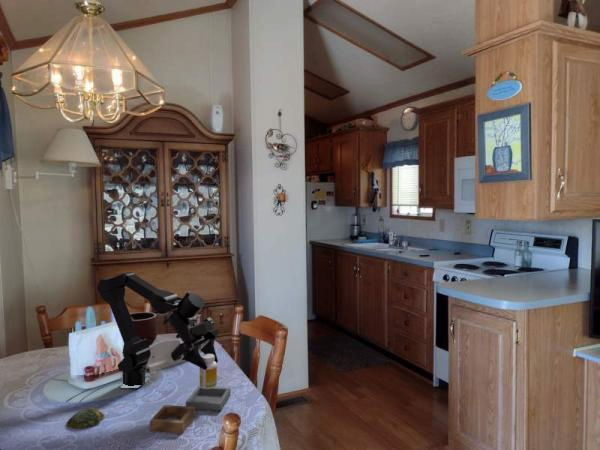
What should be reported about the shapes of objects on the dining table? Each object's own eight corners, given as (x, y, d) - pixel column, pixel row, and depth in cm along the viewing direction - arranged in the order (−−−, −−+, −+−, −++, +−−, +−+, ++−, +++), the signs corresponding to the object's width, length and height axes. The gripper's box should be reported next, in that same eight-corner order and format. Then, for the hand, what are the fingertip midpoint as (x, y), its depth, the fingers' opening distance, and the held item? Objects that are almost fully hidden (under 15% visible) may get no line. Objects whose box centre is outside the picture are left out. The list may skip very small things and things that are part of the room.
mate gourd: (144, 348, 184) (144, 303, 183) (164, 355, 176) (164, 308, 175) (111, 359, 172) (110, 310, 171) (131, 367, 164) (130, 316, 162)
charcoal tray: (185, 409, 131) (185, 401, 131) (198, 393, 142) (198, 386, 142) (220, 411, 130) (220, 403, 129) (230, 395, 141) (230, 388, 140)
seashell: (92, 396, 130) (111, 406, 125) (93, 409, 131) (112, 419, 125) (58, 412, 122) (77, 423, 117) (60, 425, 123) (79, 437, 117)
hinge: (149, 372, 159) (144, 345, 161) (143, 373, 162) (138, 347, 164) (187, 360, 172) (182, 335, 173) (181, 361, 174) (176, 337, 176)
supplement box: (197, 357, 174) (197, 319, 173) (185, 357, 174) (185, 319, 173) (202, 350, 183) (202, 314, 182) (191, 350, 183) (190, 313, 182)
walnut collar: (150, 431, 118) (150, 420, 118) (164, 414, 128) (164, 404, 127) (182, 433, 117) (182, 423, 117) (194, 416, 127) (194, 406, 126)
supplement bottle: (219, 383, 137) (219, 353, 136) (211, 390, 132) (211, 360, 131) (204, 381, 139) (204, 352, 138) (196, 388, 133) (196, 358, 133)
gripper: (178, 318, 127) (209, 361, 123) (215, 305, 144) (243, 341, 140) (158, 340, 130) (187, 382, 127) (196, 324, 148) (222, 361, 144)
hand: (211, 365), depth 134 cm, fingers closed on supplement bottle, 5 cm apart
